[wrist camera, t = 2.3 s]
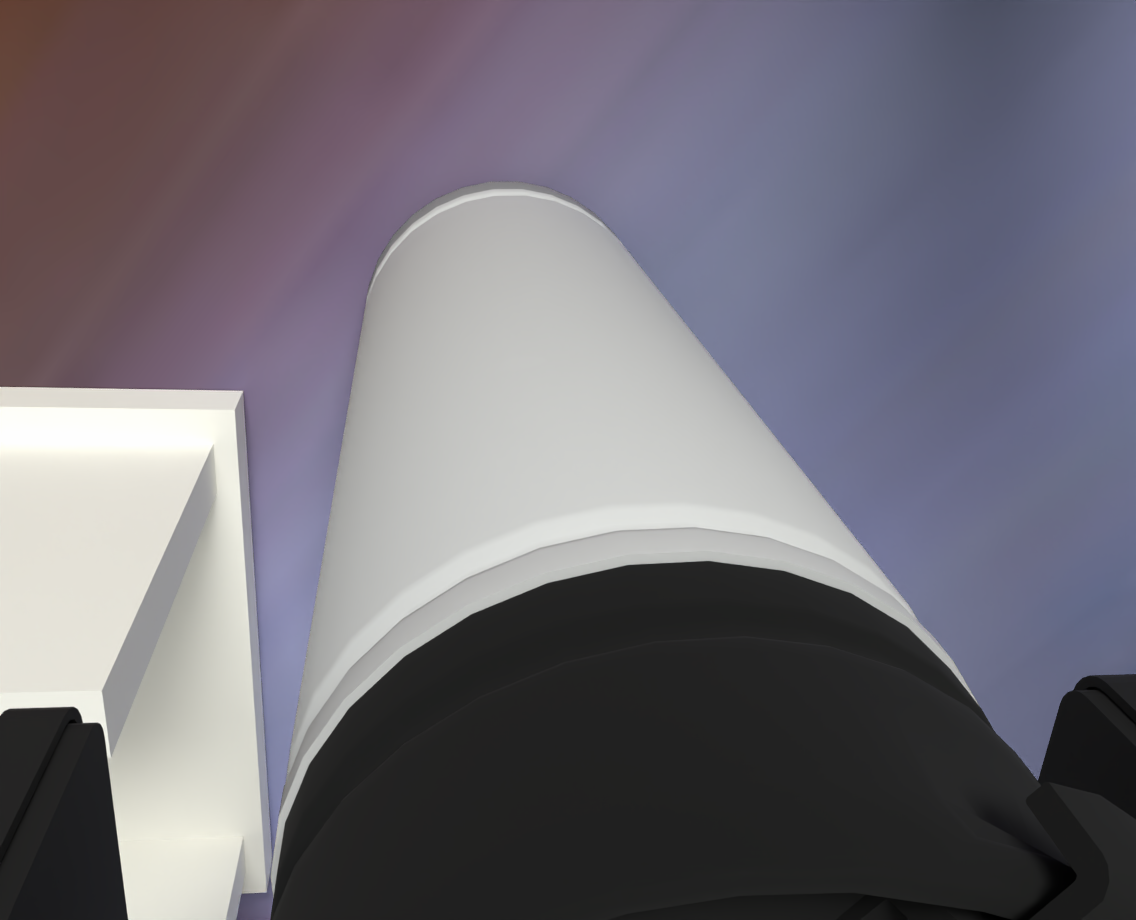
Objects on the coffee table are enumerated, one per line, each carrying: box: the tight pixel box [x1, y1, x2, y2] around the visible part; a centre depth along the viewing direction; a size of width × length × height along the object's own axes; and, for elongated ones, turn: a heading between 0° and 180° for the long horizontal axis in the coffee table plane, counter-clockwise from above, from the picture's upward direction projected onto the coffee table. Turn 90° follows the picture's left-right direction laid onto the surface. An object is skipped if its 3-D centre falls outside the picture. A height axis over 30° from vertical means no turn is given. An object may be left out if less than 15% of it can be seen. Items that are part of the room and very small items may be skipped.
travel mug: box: [270, 182, 1136, 920], centre depth 15 cm, size 6×7×20 cm
